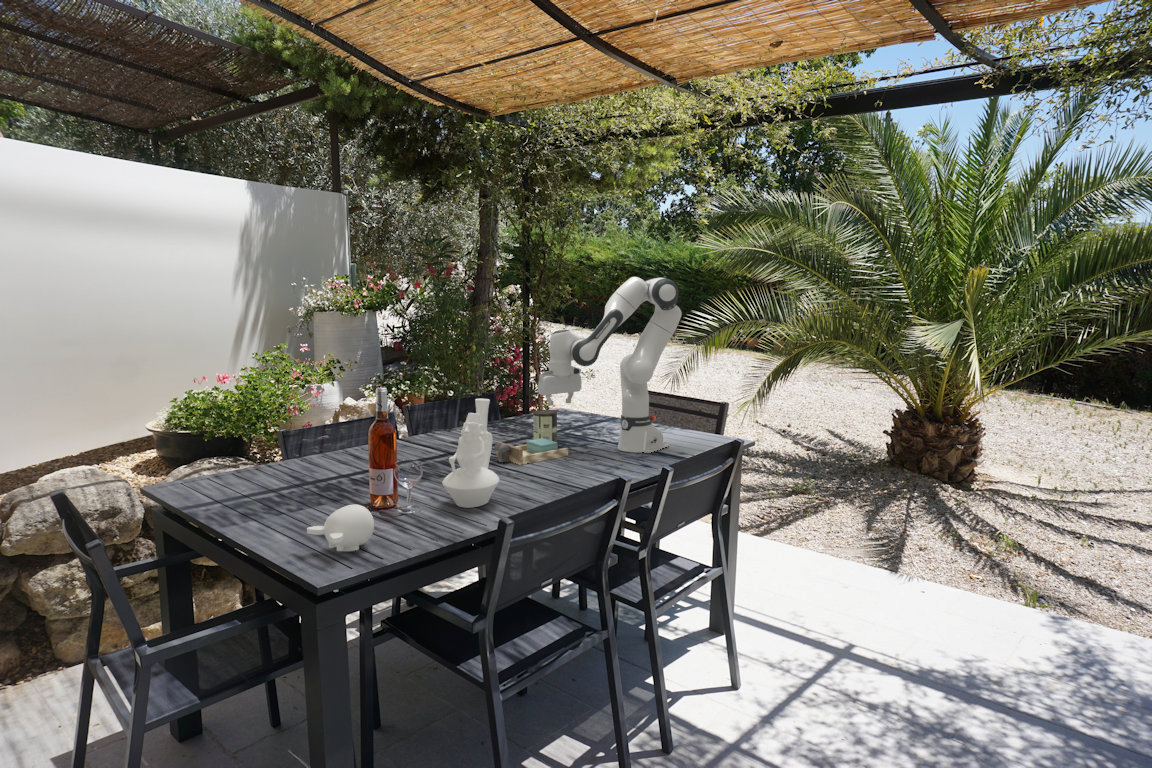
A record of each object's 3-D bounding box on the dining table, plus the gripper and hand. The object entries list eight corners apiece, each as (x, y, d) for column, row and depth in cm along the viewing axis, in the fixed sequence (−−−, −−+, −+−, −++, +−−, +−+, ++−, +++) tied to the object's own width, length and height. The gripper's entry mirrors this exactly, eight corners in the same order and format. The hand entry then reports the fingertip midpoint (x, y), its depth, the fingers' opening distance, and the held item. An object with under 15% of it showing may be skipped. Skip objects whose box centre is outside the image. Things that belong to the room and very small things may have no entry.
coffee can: (548, 440, 313) (548, 408, 311) (561, 444, 304) (561, 412, 302) (528, 443, 307) (528, 410, 305) (541, 448, 299) (541, 414, 297)
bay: (544, 448, 298) (544, 431, 297) (568, 455, 286) (568, 438, 285) (484, 459, 280) (484, 441, 279) (507, 467, 268) (507, 448, 267)
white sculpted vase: (430, 506, 222) (428, 404, 217) (473, 489, 240) (472, 394, 236) (476, 516, 213) (475, 410, 208) (517, 497, 232) (517, 399, 227)
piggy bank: (363, 542, 196) (314, 563, 184) (351, 501, 196) (301, 519, 184) (389, 540, 188) (340, 561, 176) (377, 497, 188) (326, 515, 176)
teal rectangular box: (542, 447, 294) (542, 438, 293) (557, 452, 286) (557, 442, 285) (526, 450, 289) (526, 440, 288) (541, 455, 281) (541, 445, 280)
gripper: (544, 372, 279) (544, 407, 281) (584, 369, 292) (583, 402, 294) (534, 371, 283) (534, 405, 285) (574, 367, 297) (573, 400, 299)
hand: (559, 404), depth 290 cm, fingers open, 8 cm apart
